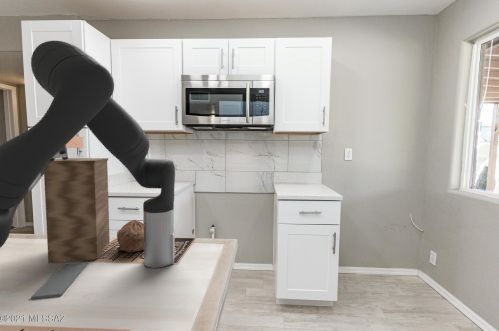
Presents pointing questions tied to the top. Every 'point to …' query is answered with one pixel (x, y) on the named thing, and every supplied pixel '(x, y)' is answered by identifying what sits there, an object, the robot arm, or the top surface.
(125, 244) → the decorative rock
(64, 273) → the mat
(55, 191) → the stand
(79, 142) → the tan wooden bar
